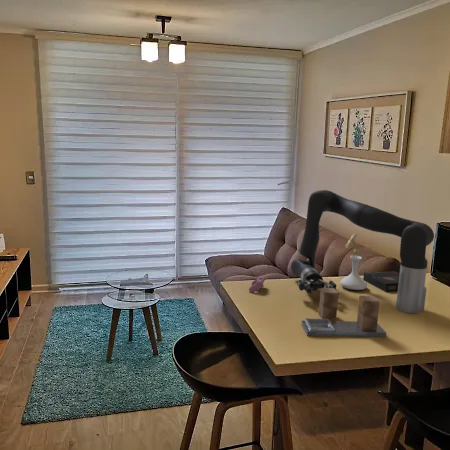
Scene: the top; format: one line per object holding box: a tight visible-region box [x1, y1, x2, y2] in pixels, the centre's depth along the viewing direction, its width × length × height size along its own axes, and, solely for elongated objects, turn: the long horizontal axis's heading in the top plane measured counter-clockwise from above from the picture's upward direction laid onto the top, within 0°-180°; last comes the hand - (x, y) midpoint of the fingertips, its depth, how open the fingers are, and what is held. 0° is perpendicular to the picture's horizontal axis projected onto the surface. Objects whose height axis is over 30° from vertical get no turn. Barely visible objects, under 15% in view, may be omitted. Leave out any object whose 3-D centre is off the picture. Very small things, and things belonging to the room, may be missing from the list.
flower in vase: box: [339, 232, 368, 291], centre depth 199 cm, size 13×11×25 cm
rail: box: [301, 317, 387, 338], centre depth 156 cm, size 26×9×2 cm, turn 93°
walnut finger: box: [318, 287, 340, 321], centre depth 167 cm, size 5×5×10 cm
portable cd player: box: [362, 270, 400, 293], centre depth 208 cm, size 16×17×4 cm
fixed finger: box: [356, 295, 381, 330], centre depth 155 cm, size 5×5×10 cm
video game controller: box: [248, 275, 266, 293], centre depth 194 cm, size 10×5×7 cm, turn 169°
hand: (321, 291), depth 176 cm, fingers open, 8 cm apart
